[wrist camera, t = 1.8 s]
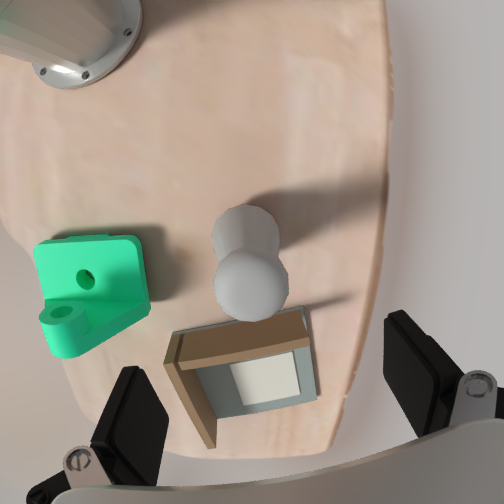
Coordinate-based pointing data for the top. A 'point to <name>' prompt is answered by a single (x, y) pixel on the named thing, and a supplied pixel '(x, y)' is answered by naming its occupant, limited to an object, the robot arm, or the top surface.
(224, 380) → the grey and wooden tray
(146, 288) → the camera mount
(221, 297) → the salt shaker
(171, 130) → the top surface
